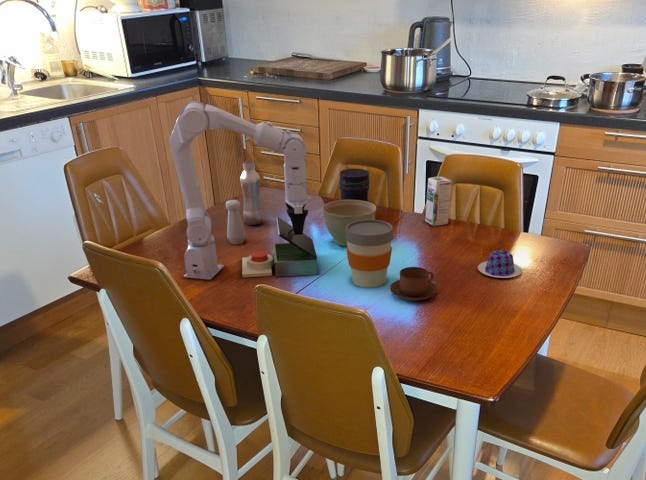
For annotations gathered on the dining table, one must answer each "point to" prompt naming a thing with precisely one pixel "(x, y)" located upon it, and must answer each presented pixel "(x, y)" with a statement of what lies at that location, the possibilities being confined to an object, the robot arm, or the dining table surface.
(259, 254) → the button
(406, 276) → the cup and saucer
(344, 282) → the dining table surface
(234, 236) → the salt shaker
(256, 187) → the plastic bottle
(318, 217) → the dining table surface
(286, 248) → the dark green box
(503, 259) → the pudding
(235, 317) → the dining table surface
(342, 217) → the planter bowl
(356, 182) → the storage jar
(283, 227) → the lid
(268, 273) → the button base
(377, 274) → the reusable coffee cup
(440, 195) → the syrup box
